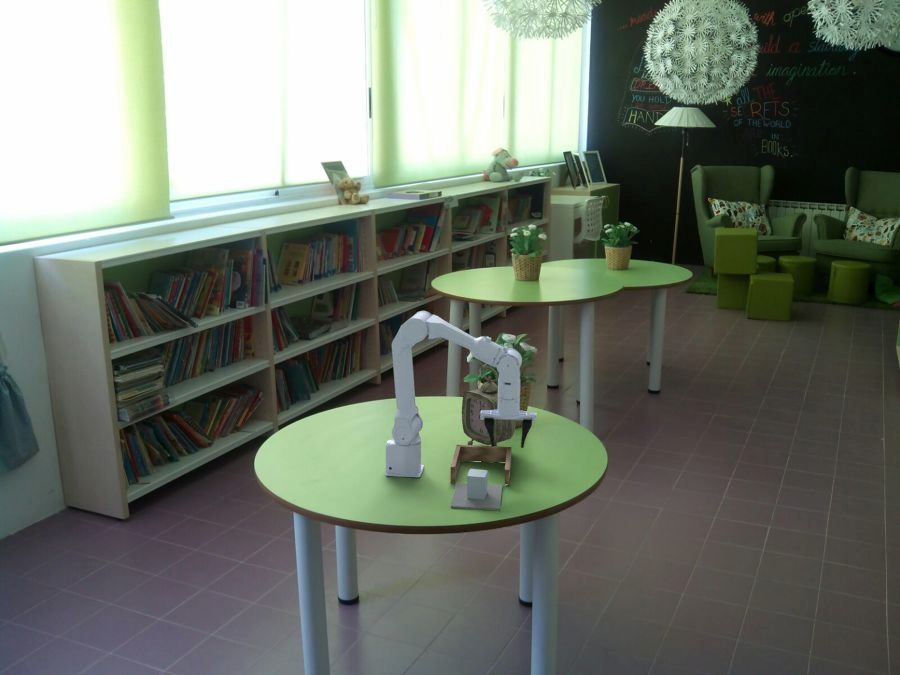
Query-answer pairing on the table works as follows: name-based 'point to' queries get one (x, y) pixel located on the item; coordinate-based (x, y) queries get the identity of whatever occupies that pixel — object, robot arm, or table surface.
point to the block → (477, 484)
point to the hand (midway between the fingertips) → (507, 445)
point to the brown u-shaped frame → (481, 457)
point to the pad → (489, 503)
